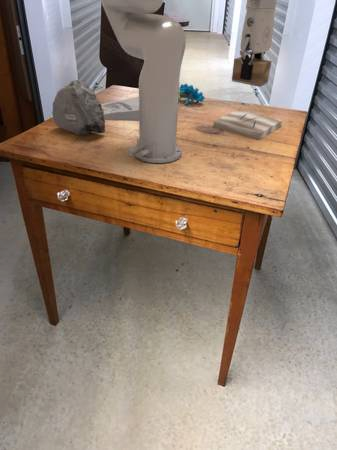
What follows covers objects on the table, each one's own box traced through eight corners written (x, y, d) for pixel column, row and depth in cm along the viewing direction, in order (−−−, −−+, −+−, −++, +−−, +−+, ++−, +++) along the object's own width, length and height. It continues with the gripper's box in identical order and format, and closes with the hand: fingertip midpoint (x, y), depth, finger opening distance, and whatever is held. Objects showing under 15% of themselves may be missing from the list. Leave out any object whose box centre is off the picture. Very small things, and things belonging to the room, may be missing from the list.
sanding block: (259, 86, 100) (263, 63, 97) (231, 81, 105) (234, 58, 101) (267, 83, 103) (271, 61, 100) (239, 78, 108) (242, 56, 104)
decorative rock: (108, 136, 104) (105, 82, 95) (92, 143, 99) (87, 87, 90) (67, 124, 111) (60, 72, 102) (51, 130, 106) (42, 76, 97)
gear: (209, 100, 132) (196, 82, 125) (202, 114, 132) (188, 97, 124) (188, 97, 139) (174, 80, 132) (181, 110, 139) (166, 94, 131)
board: (259, 139, 106) (260, 133, 105) (213, 127, 113) (213, 120, 112) (281, 126, 116) (282, 120, 115) (237, 115, 124) (238, 109, 123)
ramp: (82, 118, 117) (81, 101, 114) (103, 105, 129) (102, 89, 126) (165, 130, 111) (165, 112, 108) (178, 115, 123) (179, 99, 120)
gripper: (259, 5, 85) (248, 85, 96) (288, 3, 97) (274, 74, 107) (232, 3, 89) (223, 80, 100) (262, 1, 100) (251, 70, 111)
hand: (250, 76), depth 103 cm, fingers closed on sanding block, 5 cm apart
